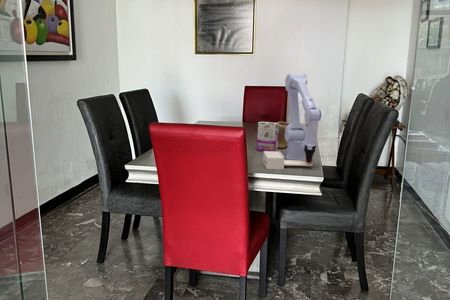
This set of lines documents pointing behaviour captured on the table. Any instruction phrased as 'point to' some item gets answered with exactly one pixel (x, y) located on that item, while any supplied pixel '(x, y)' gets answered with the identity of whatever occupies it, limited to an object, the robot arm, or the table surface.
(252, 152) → the table surface
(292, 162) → the cream slab with block
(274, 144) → the candy bar box
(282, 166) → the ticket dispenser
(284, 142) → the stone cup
